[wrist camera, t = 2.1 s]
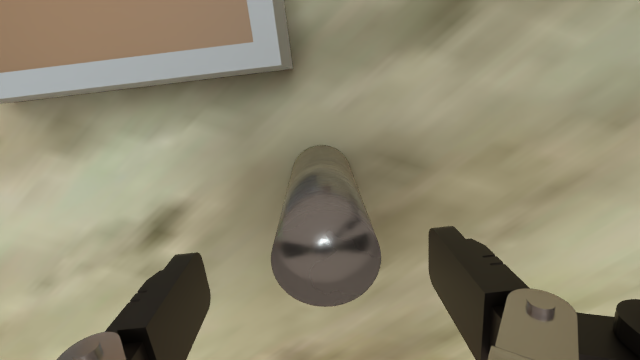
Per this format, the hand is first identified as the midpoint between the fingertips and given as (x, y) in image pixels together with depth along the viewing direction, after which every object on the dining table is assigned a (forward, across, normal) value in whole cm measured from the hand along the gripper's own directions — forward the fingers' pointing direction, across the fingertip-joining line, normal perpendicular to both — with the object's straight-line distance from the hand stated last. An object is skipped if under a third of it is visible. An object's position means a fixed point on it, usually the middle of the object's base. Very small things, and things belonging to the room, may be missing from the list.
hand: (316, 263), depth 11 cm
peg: (+11, 0, 0) cm, 11 cm away
